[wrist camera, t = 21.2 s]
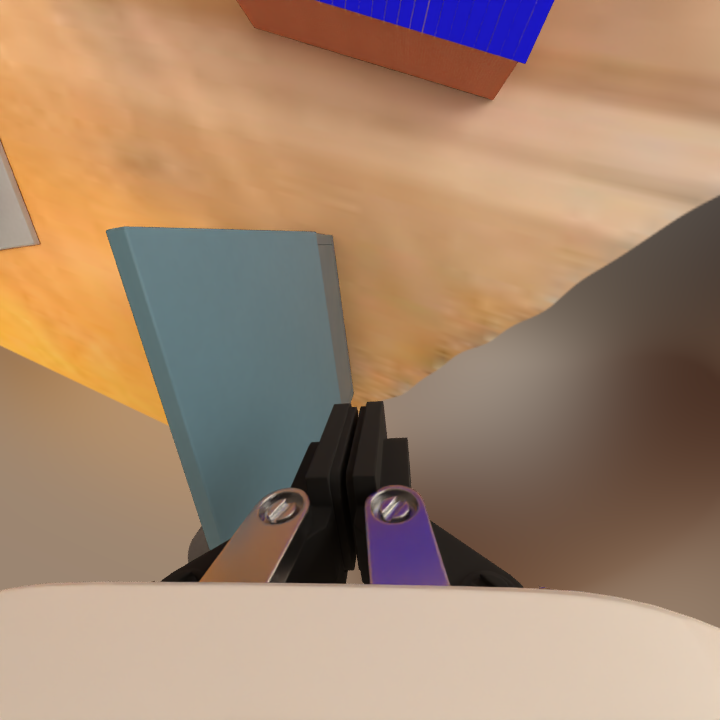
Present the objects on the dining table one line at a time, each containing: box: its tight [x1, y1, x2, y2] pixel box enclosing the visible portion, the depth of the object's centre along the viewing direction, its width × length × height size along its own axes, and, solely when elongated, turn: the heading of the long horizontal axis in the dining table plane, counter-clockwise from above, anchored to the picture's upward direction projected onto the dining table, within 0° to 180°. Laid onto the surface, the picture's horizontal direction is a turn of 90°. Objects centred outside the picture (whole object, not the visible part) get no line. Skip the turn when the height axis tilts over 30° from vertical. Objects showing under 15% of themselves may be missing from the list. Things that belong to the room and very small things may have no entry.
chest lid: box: [106, 227, 341, 550], centre depth 19 cm, size 14×16×1 cm
